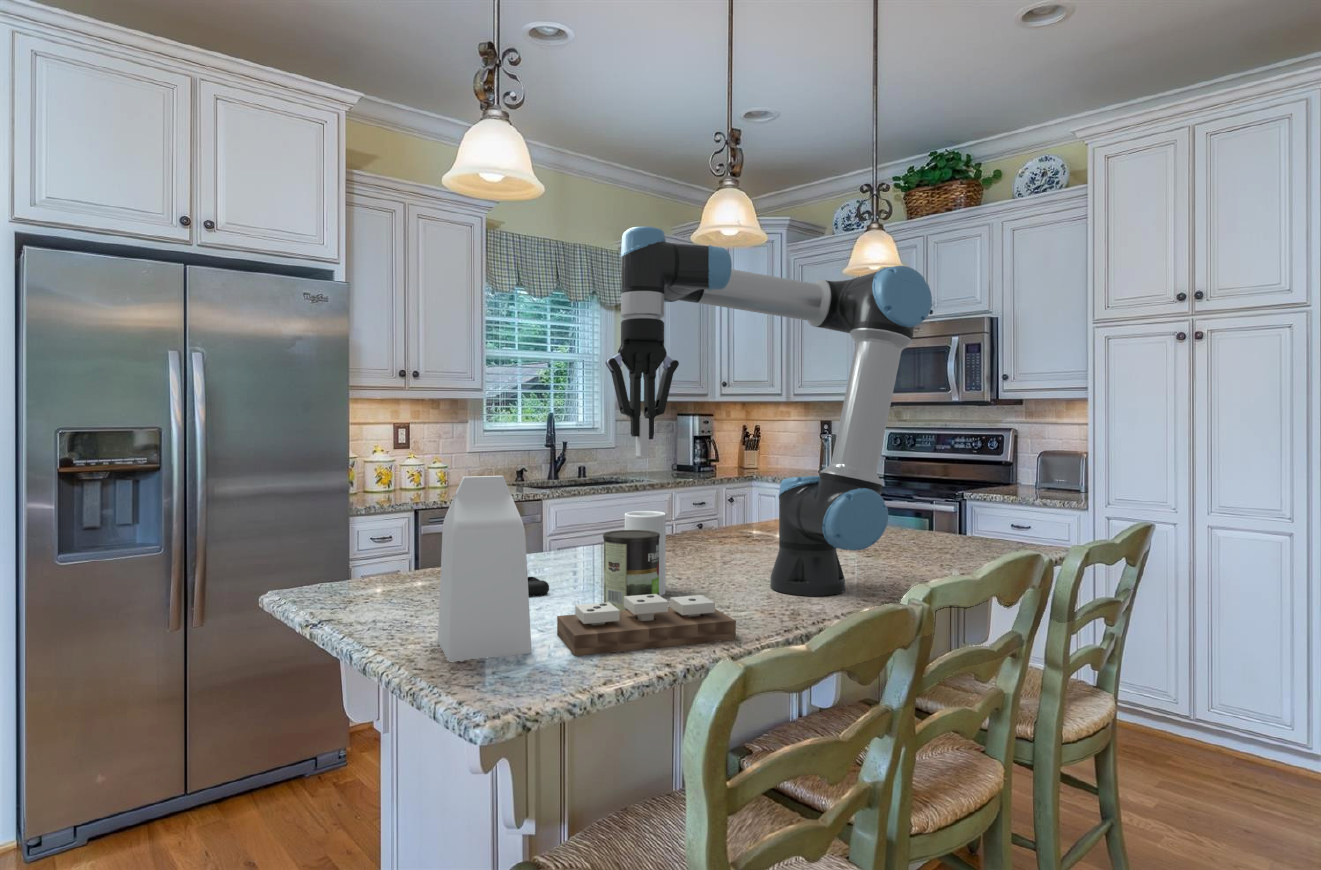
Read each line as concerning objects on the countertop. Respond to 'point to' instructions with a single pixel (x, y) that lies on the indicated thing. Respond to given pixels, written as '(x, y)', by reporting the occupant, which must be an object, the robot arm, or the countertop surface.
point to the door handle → (537, 587)
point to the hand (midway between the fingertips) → (642, 455)
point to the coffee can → (630, 565)
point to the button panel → (644, 631)
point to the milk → (483, 574)
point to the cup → (651, 523)
